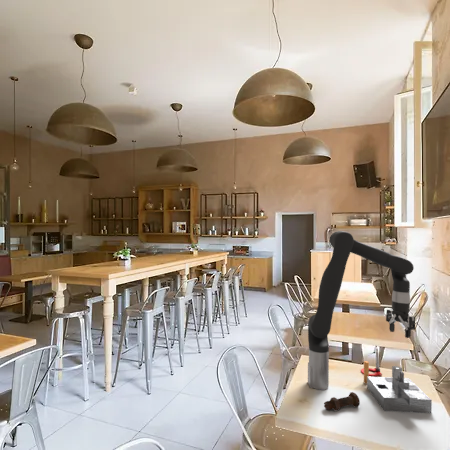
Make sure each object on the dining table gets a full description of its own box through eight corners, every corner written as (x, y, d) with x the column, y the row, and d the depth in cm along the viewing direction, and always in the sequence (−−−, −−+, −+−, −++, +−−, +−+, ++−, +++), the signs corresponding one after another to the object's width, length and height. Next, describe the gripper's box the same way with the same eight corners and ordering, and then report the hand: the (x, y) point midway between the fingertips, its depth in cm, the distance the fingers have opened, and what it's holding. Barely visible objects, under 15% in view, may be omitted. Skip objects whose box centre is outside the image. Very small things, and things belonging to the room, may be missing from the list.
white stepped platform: (388, 417, 130) (389, 382, 130) (367, 387, 154) (367, 358, 154) (438, 420, 128) (438, 384, 128) (408, 389, 152) (409, 359, 152)
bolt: (324, 414, 135) (354, 407, 140) (331, 414, 131) (361, 406, 136) (320, 398, 138) (349, 392, 143) (326, 397, 134) (356, 391, 138)
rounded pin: (364, 383, 158) (364, 362, 158) (363, 381, 160) (363, 361, 160) (369, 383, 158) (369, 363, 158) (367, 381, 160) (367, 361, 160)
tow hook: (364, 377, 166) (383, 377, 165) (363, 351, 166) (381, 351, 165) (358, 370, 174) (376, 369, 174) (357, 345, 174) (375, 345, 174)
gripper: (382, 297, 160) (381, 330, 160) (408, 304, 147) (406, 340, 147) (394, 297, 163) (393, 329, 163) (420, 303, 150) (418, 339, 150)
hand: (399, 334), depth 155 cm, fingers open, 8 cm apart
